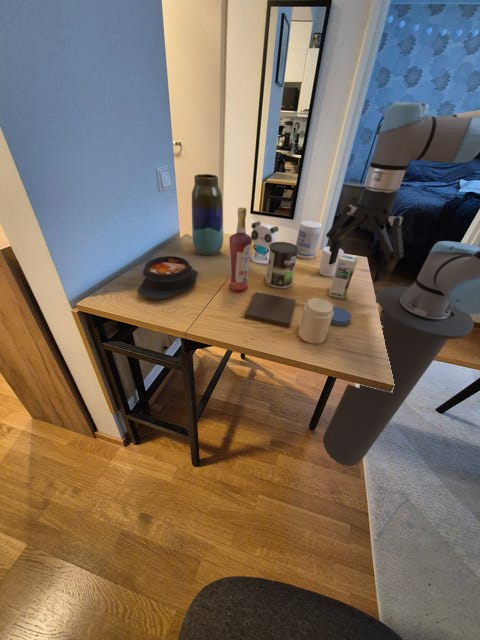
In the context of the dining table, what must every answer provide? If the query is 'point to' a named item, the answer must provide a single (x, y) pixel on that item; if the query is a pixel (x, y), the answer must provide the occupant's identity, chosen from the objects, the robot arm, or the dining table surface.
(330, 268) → the white cup
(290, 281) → the coffee can
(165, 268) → the casserole
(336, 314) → the jar lid
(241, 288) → the liquor
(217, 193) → the vase
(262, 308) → the serving board
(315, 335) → the jar
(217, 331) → the dining table surface
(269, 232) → the panda figurine
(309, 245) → the supplement tub
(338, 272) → the syrup box
